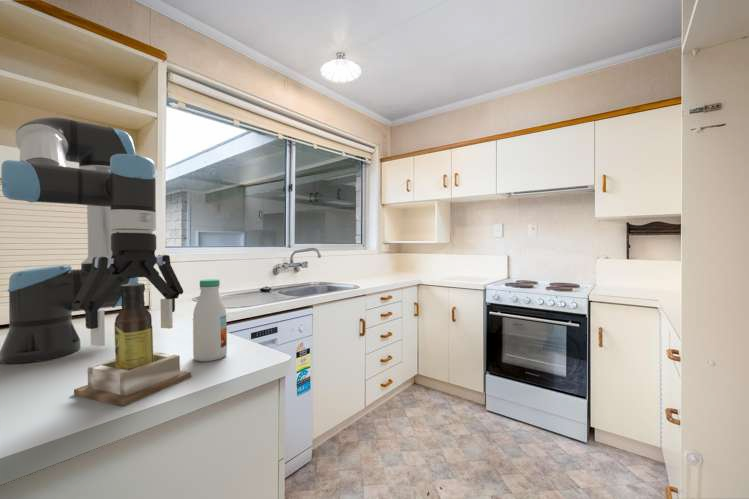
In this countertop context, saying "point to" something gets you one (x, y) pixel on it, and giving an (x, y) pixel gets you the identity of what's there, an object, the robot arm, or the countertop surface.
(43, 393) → the countertop surface
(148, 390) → the socket board
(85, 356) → the countertop surface
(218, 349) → the milk bottle
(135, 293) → the sauce bottle
